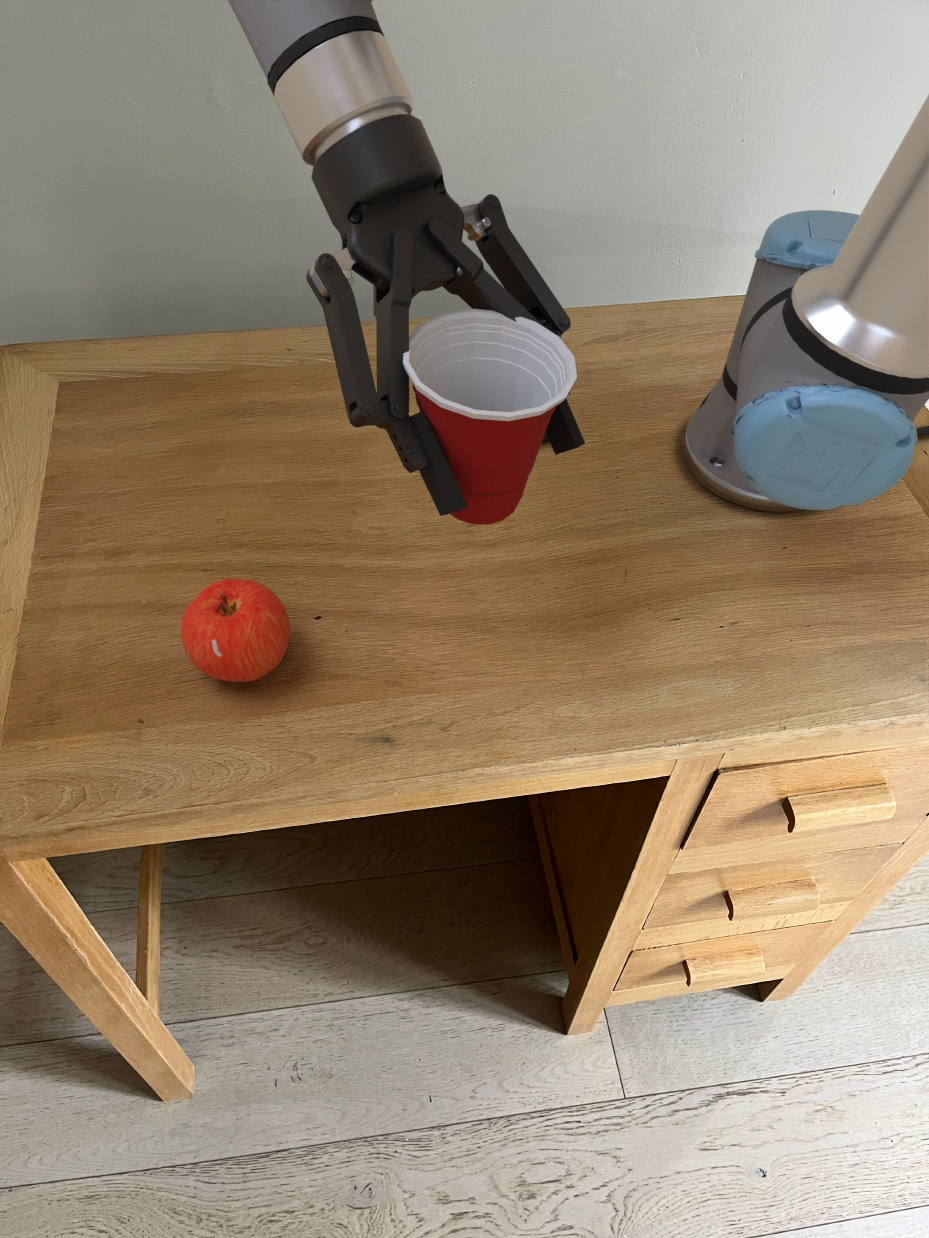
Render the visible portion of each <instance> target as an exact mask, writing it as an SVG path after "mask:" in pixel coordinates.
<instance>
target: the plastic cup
mask: <svg viewBox="0 0 929 1238" xmlns="http://www.w3.org/2000/svg"><path fill="white" fill-rule="evenodd" d="M515 319H516V322H515V321H513V320H511V319H509V318H507V317H505V316H504V315H502V314H500V313H498V312H495V311H492V310H481V309H472V308H469V309H461V310H455V311H448V312H442V313H440V314H438V315H436V316H433V317H432V318H429V319H427V320H425V321H423V322H421V323H419V324H417V326H416V327H415V328H414V329H413V331H412V332H411V333H409V351H408V352H406V353H404V355H403V365H404V369H405V370H406V372H407V374H408V376H409V380H410V381H411V385H412V390H413V392H414V395H415V402H416V405H417V407H418V411H419V412H420V411H424V413H425V415H426V417H427V419H428V421H429V423H430V426H431V428H432V430H433V432H434V434H435V436H436V438H437V441H438V443H439V445H440V447H441V449H442V451H443V454H444V456H445V458H446V460H447V462H448V464H449V466H450V469H451V471H452V473H453V475H454V477H455V479H456V481H457V484H458V486H459V488H460V490H461V492H462V494H463V496H464V499H465V501H466V503H467V505H468V507H466V508H464V509H463V510H461V511H459V512H455V513H451V514H449V515H451V516H452V517H453V518H454V519H456V520H458V521H459V522H463V523H467V524H470V525H487V526H488V525H491V524H495V523H499V522H503V521H504V520H506V519H507V518H509V517H511V515H512V514H514V513H515V511H516V509H517V507H518V506H519V504H520V502H521V500H522V498H523V496H524V492H525V488H526V486H527V483H528V479H529V476H530V474H531V473H532V471H533V468H534V465H535V463H536V460H537V458H538V454H539V453H540V448H541V446H542V444H541V443H542V440H543V437H544V435H545V432H546V429H547V426H548V423H549V420H550V417H551V416H552V414H553V412H554V410H555V408H556V406H557V405H558V404H559V403H561V402H563V401H564V399H565V398H566V399H567V397H568V396H569V395H568V393H569V391H570V392H571V389H572V387H573V385H574V384H575V382H576V380H577V378H578V374H577V366H576V359H575V356H574V354H573V353H572V352H571V350H570V349H569V347H568V346H567V345H566V344H565V342H564V341H563V340H562V337H561V338H560V337H559V336H557V335H555V334H554V333H552V332H551V331H549V330H548V329H546V328H544V327H543V326H541V325H540V324H538V323H537V322H535V321H532V320H529V319H526V318H523V317H517V318H515Z"/></svg>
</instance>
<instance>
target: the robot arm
mask: <svg viewBox="0 0 929 1238" xmlns="http://www.w3.org/2000/svg"><path fill="white" fill-rule="evenodd" d="M373 1H374V0H227V2H228V3H229V6H230V8H231V9H232V11H233V13H234V15H235V17H236V19H237V21H238V23H239V25H240V28H241V29H242V31H243V33H244V35H245V37H246V39H247V42H248V43H249V47H250V48H251V50H252V53H253V54H254V56H255V58H256V60H257V62H258V64H259V66H260V68H261V71H262V72H263V75H264V77H265V78H266V80H267V86H268V87H269V89H270V91H271V93H272V96H273V99H274V101H275V103H276V105H277V108H278V110H279V111H280V113H281V116H282V118H283V120H284V122H285V124H286V127H287V128H288V132H289V134H290V135H291V137H292V139H293V142H294V144H295V146H296V148H297V150H298V152H299V155H300V157H301V158H302V160H303V162H304V163H305V164H306V165H309V166H311V167H312V172H311V181H312V183H313V185H314V187H315V190H316V192H317V194H318V196H319V198H320V200H321V202H322V204H323V207H324V209H325V211H326V214H327V215H328V217H329V220H330V222H331V224H332V226H333V227H334V228H335V229H336V230H337V232H338V233H339V236H340V240H341V250H339V251H337V252H335V253H333V254H331V253H328V252H323V253H321V254H320V255H318V257H317V259H316V260H314V262H313V263H312V265H310V268H309V269H308V270H307V272H306V273H305V280H306V282H307V285H309V287H310V289H311V291H312V292H313V294H314V296H315V298H316V299H317V301H318V303H319V304H320V306H321V308H322V311H323V312H322V313H323V315H324V316H323V317H324V321H325V324H326V328H327V332H328V337H329V341H330V346H331V350H332V354H333V359H334V362H335V363H334V364H335V368H336V371H337V375H338V376H337V377H338V381H339V384H340V389H341V393H342V397H343V401H344V406H345V410H346V414H347V415H346V416H347V419H348V421H349V424H350V425H351V426H352V427H354V428H363V427H369V426H371V427H372V426H375V427H377V429H381V430H382V429H384V430H385V431H386V434H387V435H388V437H389V439H390V441H391V443H392V446H393V447H394V449H395V452H396V454H397V455H398V458H399V460H400V463H401V465H402V466H403V468H404V469H405V470H406V471H407V472H408V473H409V474H412V473H414V472H417V471H418V472H419V474H420V476H421V478H422V480H423V482H424V484H425V487H426V489H427V491H428V493H429V495H430V497H431V499H432V502H433V503H434V506H435V508H436V510H437V512H438V515H439V517H444V516H447V515H450V514H451V513H455V512H459V511H461V510H463V509H464V508H466V507H468V505H467V503H466V501H465V499H464V496H463V494H462V492H461V490H460V488H459V486H458V484H457V481H456V479H455V477H454V475H453V473H452V471H451V469H450V466H449V464H448V462H447V460H446V458H445V456H444V454H443V451H442V449H441V447H440V445H439V443H438V441H437V438H436V436H435V434H434V432H433V430H432V428H431V426H430V423H429V421H428V419H427V417H426V415H425V413H424V411H419V412H416V413H414V414H412V415H410V377H409V376H408V374H407V372H406V370H405V369H404V365H403V355H404V353H406V352H408V351H409V336H410V307H411V305H412V301H413V299H414V297H416V296H417V295H418V294H420V293H421V292H430V291H435V290H437V289H439V288H443V289H444V290H445V291H446V292H447V293H449V294H451V295H453V296H454V295H455V296H457V297H459V298H460V299H461V300H462V301H463V302H464V303H466V304H467V305H468V307H470V309H481V310H492V311H495V312H498V313H500V314H502V315H504V316H505V317H507V318H509V319H511V320H513V321H515V322H516V319H515V318H517V317H523V318H526V319H529V320H532V321H535V322H537V323H538V324H540V325H541V326H543V327H544V328H546V329H548V330H549V331H551V332H552V333H554V334H555V335H557V336H559V337H560V338H561V339H562V335H564V333H566V332H567V331H569V330H570V328H571V325H572V321H571V318H570V316H569V315H568V313H567V312H566V310H565V309H564V308H563V306H562V305H561V303H560V302H559V300H558V298H557V297H556V296H555V294H554V293H553V291H552V290H551V288H550V287H549V285H548V284H547V282H546V281H545V279H544V278H543V276H542V275H541V273H540V272H539V270H538V269H537V267H536V266H535V265H534V263H533V261H532V260H531V258H530V257H529V255H527V253H526V252H525V251H526V250H525V249H524V248H523V247H522V245H521V243H520V242H519V241H518V240H517V238H516V236H515V234H513V232H512V231H511V229H510V227H509V225H508V222H507V218H506V216H505V213H504V209H503V207H502V204H501V201H500V199H499V197H498V196H496V195H495V194H493V193H489V194H487V195H485V196H484V198H482V199H481V200H480V201H479V202H477V203H472V204H467V205H463V206H460V204H459V203H458V202H457V201H455V200H454V198H453V197H452V196H451V195H450V193H449V192H448V191H447V188H446V185H445V180H444V173H443V168H442V165H441V163H440V161H439V158H438V156H437V154H436V151H435V149H434V147H433V144H432V142H431V140H430V138H429V135H428V133H427V131H426V128H425V126H424V124H423V121H422V120H421V119H420V118H418V117H416V116H414V115H412V113H413V110H414V108H415V107H414V106H415V105H414V102H415V101H414V99H413V97H412V95H411V92H410V90H409V87H408V85H407V83H406V81H405V79H404V77H403V73H402V72H401V70H400V67H399V65H398V64H397V63H398V62H397V61H396V59H395V57H394V55H393V52H392V50H391V48H390V45H389V43H388V41H387V39H386V37H385V34H384V32H383V30H382V28H381V25H380V22H379V19H378V17H377V14H376V10H375V9H374V5H373V3H372V2H373ZM464 231H465V232H466V233H467V234H466V238H467V240H469V241H470V242H473V241H474V243H475V245H476V247H477V249H478V251H479V254H481V256H482V258H483V259H484V261H485V262H486V264H487V265H488V267H489V268H490V270H491V271H492V272H493V274H494V275H495V277H496V278H497V279H498V281H499V282H498V281H497V279H495V278H494V277H493V276H492V274H490V273H489V272H488V271H487V270H486V268H484V262H483V260H482V259H481V258H480V256H478V255H477V254H476V253H475V252H474V251H473V250H472V249H471V248H470V247H469V246H468V245H467V244H466V243H465V242H464V241H463V237H464ZM754 258H756V259H755V262H754V266H753V269H752V272H751V276H750V280H749V282H748V283H749V284H748V286H747V289H746V293H745V297H744V299H743V303H742V306H741V310H740V312H739V317H738V320H737V323H736V325H735V326H736V327H735V329H734V333H733V336H732V340H731V343H730V347H729V350H728V353H727V356H726V360H725V364H724V367H723V371H722V373H721V376H720V377H719V378H718V380H717V382H716V383H714V384H713V386H712V387H711V389H709V391H708V392H707V393H706V395H705V396H704V398H703V399H702V400H701V402H700V403H699V405H698V406H697V408H696V410H695V411H694V412H693V413H692V414H691V416H690V418H689V420H688V422H687V425H686V427H685V428H686V429H685V432H684V435H683V439H682V445H681V451H682V457H683V461H684V462H685V465H686V467H687V468H688V470H689V472H690V473H691V474H692V476H693V477H694V478H695V479H696V480H697V482H699V483H700V484H701V485H702V486H703V487H705V488H706V489H707V490H708V491H710V492H711V493H713V494H715V496H718V497H720V498H722V499H724V500H726V501H729V502H730V503H732V504H735V505H739V506H742V507H744V508H748V509H753V510H757V511H763V512H775V513H785V512H786V513H787V512H795V511H796V512H797V511H801V510H808V511H833V510H835V509H837V508H840V507H854V506H859V505H861V504H864V503H867V502H869V501H872V500H874V499H877V498H878V497H880V496H882V495H883V494H885V493H886V492H888V491H889V490H891V489H892V488H893V487H894V486H896V485H897V483H899V482H900V481H901V480H902V478H903V477H904V476H905V475H906V474H907V472H908V470H909V468H910V467H911V464H912V462H913V460H914V455H915V450H916V446H917V444H918V437H922V436H925V435H926V436H927V435H929V425H925V426H924V425H923V426H920V427H916V425H915V420H916V419H917V416H918V415H919V413H920V412H921V410H922V409H923V408H924V407H925V405H926V404H927V402H928V401H929V94H927V96H926V98H925V100H924V102H923V103H922V105H921V107H920V108H919V110H918V112H917V114H916V116H915V117H914V119H913V121H912V122H911V124H910V126H909V128H908V130H907V132H906V133H905V135H904V136H903V138H902V141H901V142H900V144H899V146H898V147H897V149H896V150H895V153H894V154H893V156H892V158H891V160H890V161H889V163H888V164H887V167H886V169H885V171H884V172H883V173H882V175H881V177H880V179H879V181H878V182H877V184H876V186H875V187H874V189H873V191H872V193H871V195H870V197H869V198H868V200H867V202H866V204H865V206H864V207H863V209H862V211H861V213H860V214H857V213H851V212H846V211H839V210H827V209H825V210H824V209H809V210H801V211H793V212H790V213H786V214H783V215H781V216H779V217H778V218H776V219H775V220H773V221H772V222H771V223H770V224H769V225H768V227H767V228H766V230H765V232H764V234H763V237H762V240H761V243H760V246H759V248H758V249H757V250H756V251H755V253H754ZM352 271H353V272H354V273H356V274H357V275H358V276H360V277H361V278H363V279H364V280H366V281H367V282H368V283H370V284H371V285H373V287H372V288H373V290H372V291H373V297H372V298H373V299H372V300H373V317H374V318H375V321H376V325H375V326H376V329H375V330H376V333H375V336H376V337H375V339H376V384H375V380H374V376H373V371H372V366H371V362H370V357H369V353H368V349H367V344H366V341H365V336H364V332H363V327H362V324H361V319H360V314H359V313H360V312H359V309H358V305H357V301H356V297H355V294H354V291H353V288H352V285H353V282H354V277H353V273H352ZM570 395H571V390H570V391H569V393H568V395H567V396H570ZM546 434H547V437H548V439H549V441H550V446H551V448H552V450H553V452H554V455H555V456H557V455H559V454H563V453H566V452H569V451H573V450H576V449H578V448H580V447H582V446H584V445H585V444H586V441H585V439H584V437H583V435H582V432H581V430H580V428H579V425H578V422H577V420H576V418H575V417H574V413H573V410H572V409H571V407H570V403H569V401H568V399H567V397H566V398H565V399H564V401H563V402H561V403H559V404H558V405H557V406H556V408H555V410H554V412H553V414H552V416H551V417H550V420H549V423H548V426H547V429H546Z"/></svg>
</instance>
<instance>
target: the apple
mask: <svg viewBox="0 0 929 1238" xmlns="http://www.w3.org/2000/svg"><path fill="white" fill-rule="evenodd" d="M290 624H291V623H290V619H289V615H288V613H287V610H286V608H285V606H284V604H283V602H282V601H281V599H280V598H279V596H277V595H276V594H275V592H273V591H272V590H271V589H269V587H268V586H266V585H263V584H262V583H260V582H258V581H254V580H248V579H243V578H241V579H240V578H226V579H221V580H218V581H215V582H213V583H211V584H210V585H207V586H206V587H205V588H203V590H202V591H200V592H199V594H197V595H196V596H195V597H194V598H193V600H192V601H191V602H190V603H189V604H188V606H187V607H186V609H185V611H184V613H183V615H182V618H181V623H180V634H181V641H182V645H183V649H184V652H185V654H186V656H187V658H188V659H189V661H190V662H191V663H192V664H193V665H194V666H195V667H196V668H197V669H198V670H199V671H200V672H202V673H203V674H204V675H206V676H208V677H210V678H213V679H216V680H220V681H224V682H230V683H232V682H233V683H241V682H242V683H246V682H254V681H257V680H259V679H261V678H263V677H264V676H266V675H268V674H269V673H270V672H272V671H273V670H274V669H275V668H276V667H277V666H278V665H279V664H280V663H281V661H282V659H283V658H284V656H285V654H286V652H287V649H288V646H289V642H290V634H291V633H290V632H291V627H290V626H291V625H290Z"/></svg>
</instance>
